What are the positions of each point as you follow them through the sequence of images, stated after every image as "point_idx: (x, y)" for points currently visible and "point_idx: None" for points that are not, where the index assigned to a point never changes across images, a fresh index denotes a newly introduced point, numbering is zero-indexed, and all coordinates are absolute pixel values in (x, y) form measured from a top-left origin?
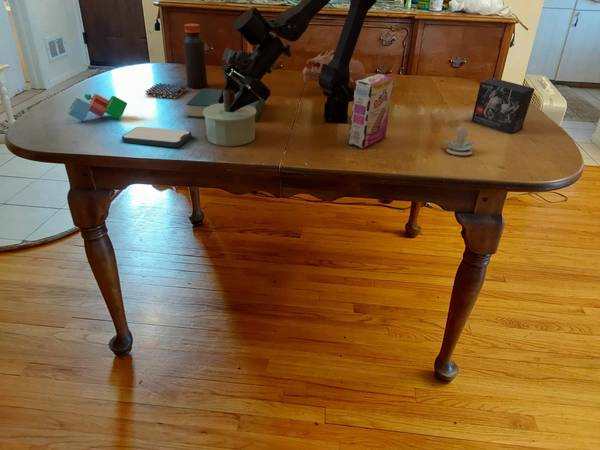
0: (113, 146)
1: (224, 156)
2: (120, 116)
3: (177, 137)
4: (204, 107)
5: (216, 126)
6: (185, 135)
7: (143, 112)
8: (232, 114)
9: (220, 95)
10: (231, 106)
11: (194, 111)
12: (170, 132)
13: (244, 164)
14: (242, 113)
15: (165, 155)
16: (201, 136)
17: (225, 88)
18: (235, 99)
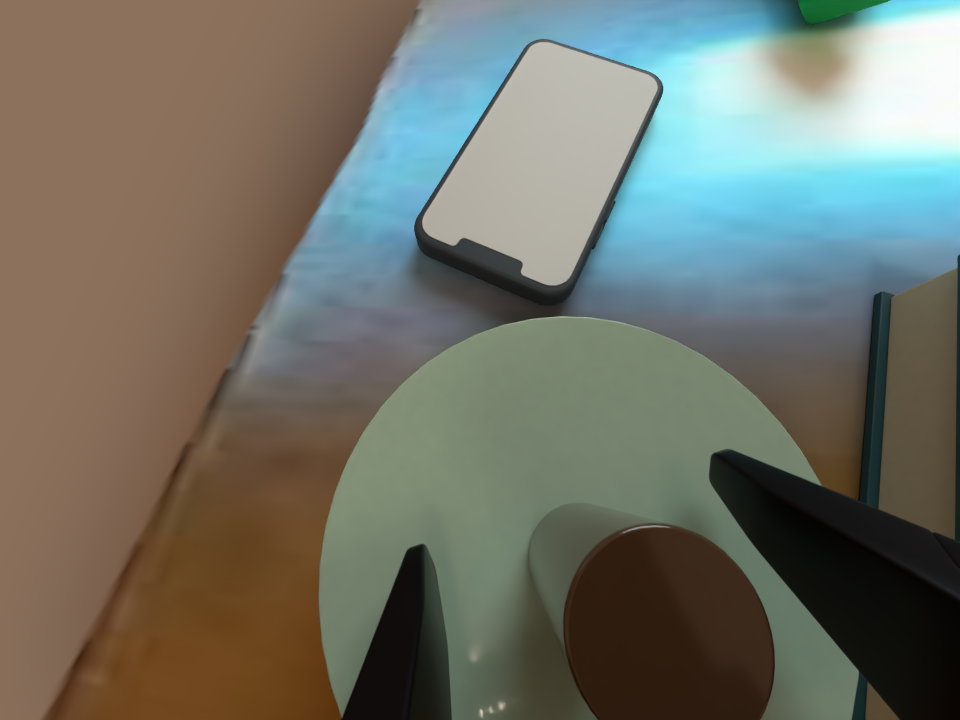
0: (493, 40)
1: (270, 457)
2: (802, 13)
3: (481, 231)
4: (953, 374)
5: None
6: (505, 266)
7: (920, 101)
8: (458, 574)
9: (794, 484)
10: (391, 589)
11: (919, 319)
12: (560, 201)
13: (132, 556)
14: (475, 695)
15: (359, 204)
16: None
17: (916, 587)
18: (380, 700)
